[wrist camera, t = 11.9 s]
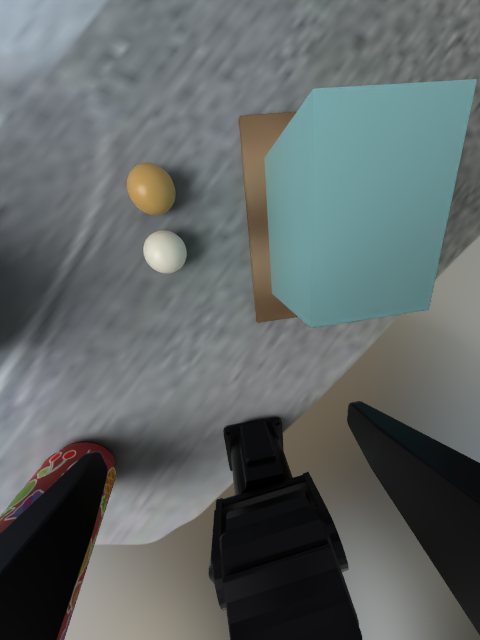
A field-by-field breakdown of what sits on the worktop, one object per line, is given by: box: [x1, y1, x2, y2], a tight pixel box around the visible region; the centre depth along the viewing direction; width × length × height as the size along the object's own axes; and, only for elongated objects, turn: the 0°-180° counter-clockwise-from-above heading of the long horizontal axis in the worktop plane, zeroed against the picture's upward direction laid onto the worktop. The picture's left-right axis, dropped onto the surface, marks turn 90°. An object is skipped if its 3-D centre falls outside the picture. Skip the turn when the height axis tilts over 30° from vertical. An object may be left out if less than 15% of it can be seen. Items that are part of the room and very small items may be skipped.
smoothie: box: [0, 442, 116, 640], centre depth 15 cm, size 8×8×20 cm
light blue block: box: [264, 79, 477, 328], centre depth 14 cm, size 10×7×8 cm
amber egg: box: [127, 163, 175, 215], centre depth 15 cm, size 3×3×3 cm
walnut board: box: [239, 112, 298, 323], centre depth 18 cm, size 15×10×1 cm, turn 6°
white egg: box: [143, 230, 187, 273], centre depth 16 cm, size 3×3×3 cm
